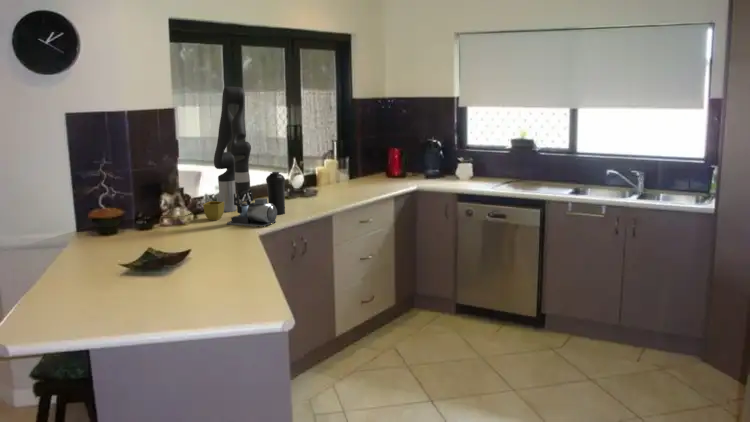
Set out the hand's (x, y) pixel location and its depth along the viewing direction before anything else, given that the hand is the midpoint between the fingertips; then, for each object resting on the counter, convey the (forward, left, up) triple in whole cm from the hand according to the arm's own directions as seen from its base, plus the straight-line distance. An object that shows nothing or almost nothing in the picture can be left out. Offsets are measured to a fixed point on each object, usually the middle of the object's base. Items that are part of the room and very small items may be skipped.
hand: (244, 211), depth 364 cm
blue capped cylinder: (0, 0, -5) cm, 5 cm away
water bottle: (+4, +26, -6) cm, 27 cm away
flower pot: (-21, +3, -6) cm, 22 cm away
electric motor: (+5, 0, -6) cm, 8 cm away
